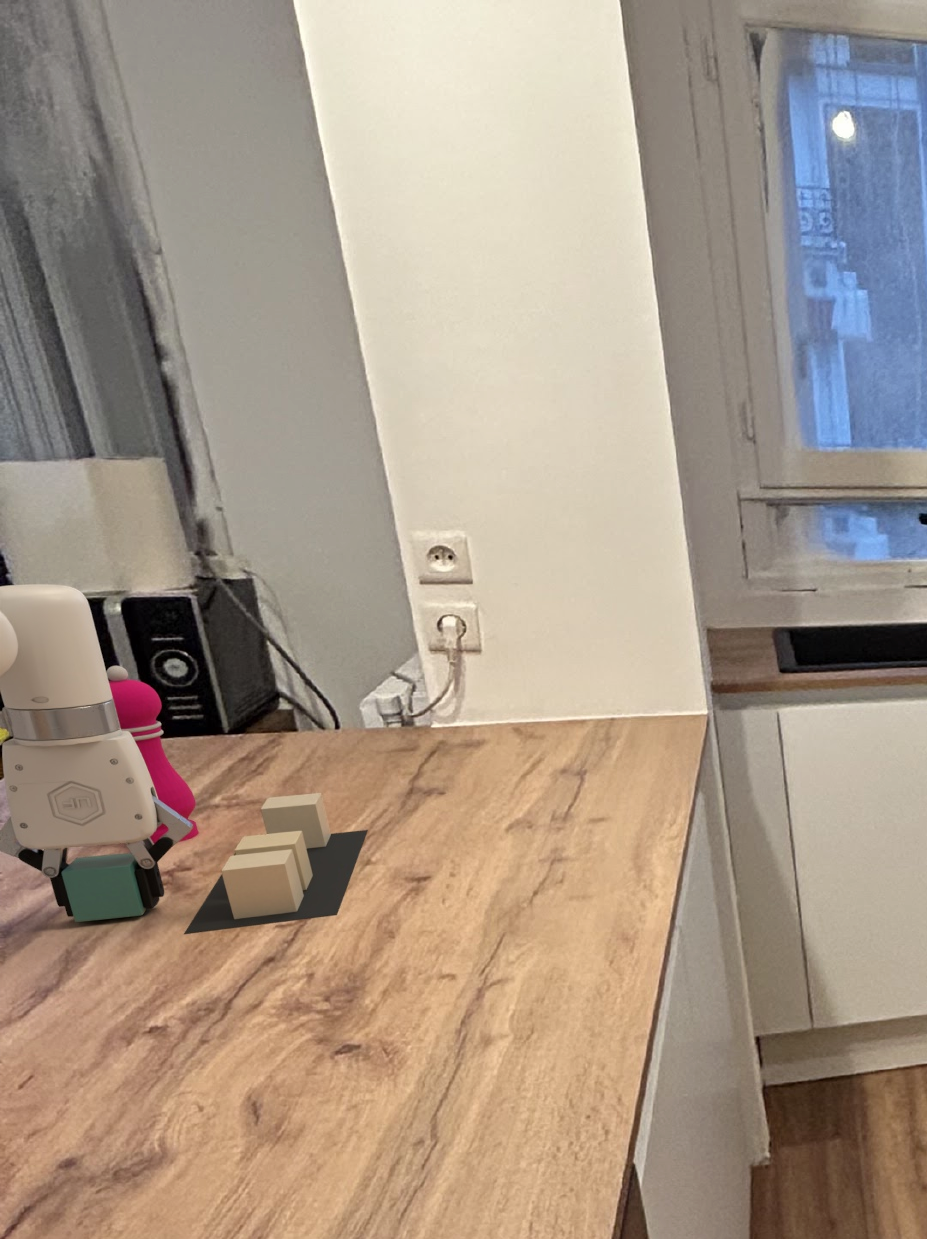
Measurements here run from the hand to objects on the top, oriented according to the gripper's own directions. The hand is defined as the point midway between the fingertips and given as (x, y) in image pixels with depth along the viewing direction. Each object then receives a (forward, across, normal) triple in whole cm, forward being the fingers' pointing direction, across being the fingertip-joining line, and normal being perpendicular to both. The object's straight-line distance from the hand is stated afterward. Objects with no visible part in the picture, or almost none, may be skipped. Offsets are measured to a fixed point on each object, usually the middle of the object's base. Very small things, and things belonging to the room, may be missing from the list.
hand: (114, 906), depth 130 cm
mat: (+1, +13, +7) cm, 14 cm away
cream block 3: (+1, +13, -4) cm, 13 cm away
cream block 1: (0, +13, +19) cm, 23 cm away
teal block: (0, 0, 0) cm, 0 cm away
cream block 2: (+1, +13, +3) cm, 13 cm away
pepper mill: (+1, -1, +28) cm, 28 cm away
